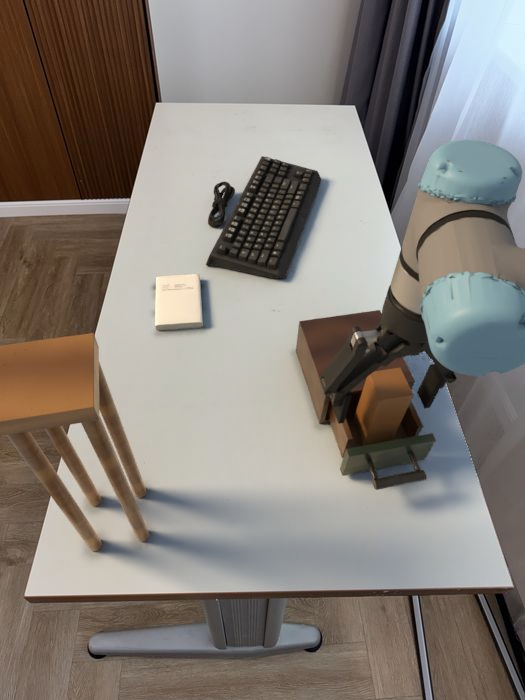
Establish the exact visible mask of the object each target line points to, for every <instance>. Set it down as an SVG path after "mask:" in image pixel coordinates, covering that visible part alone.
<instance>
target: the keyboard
mask: <svg viewBox="0 0 525 700" xmlns="http://www.w3.org/2000/svg"><path fill="white" fill-rule="evenodd" d="M321 183H322V178H321V176H320V173H319V171H318V170H316V169H312V168H307V167H305V166H300V165H297V164H293V163H289V162H285V161H281V160H280V159H277V158H272V157H269V156H263V155H262V156H260V158H259V160H258V162H257V165H256V167H255V168H254V170H253V171H252V173H251V176H250V177H249V180H248V182H247V184H246V185H245V187H244V189H243V191H242V193H241V195H240V197H239V199H238V202H237V204H236V205H235V206H234V208H233V210H232V212H231V214H230V216H229V217H228V219H227V221H226V223H225V225H224V227H223V228H222V231H221V232H220V235H219V236H218V237H217V240H216V241H215V244H214V246H213V248H212V250H211V252H210V253H209V256H208V257H207V260H206V263H205V266H207V267H209V266H214V267H219V268H224V269H228V270H233V271H238V272H241V273H246V274H252V275H256V276H260V277H265V278H269V279H276V280H277V279H280V278H281V279H286V278H287V276H288V274H289V270H290V267H291V264H292V262H293V258H294V256H295V253H296V251H297V248H298V245H299V243H300V240H301V237H302V235H303V231H304V228H305V226H306V223H307V220H308V218H309V215H310V212H311V209H312V207H313V204H314V202H315V200H316V197H317V194H318V191H319V188H320V186H321ZM222 186H224V188H222V189H221V191H220V189H219V188H221V187H222ZM235 193H236V189H235V187H233V186H232V185H231V184H230V182H228V181H221V182H219V183H216V184H215V185H214V187H213V195H214V197H213V202H212V204H211V207H212V208H211V210H210V213H209V214H208V219H207V224H208V225H209V227H211V228H217V227H220V226H221V225H223V223H224V222H225V220H226V212H227V211H226V208H227V207H228V203H229V201H230V200H231V199H232V198H233V196H234V195H235ZM218 213H219V215H217V214H218ZM216 215H217V216H216Z"/></svg>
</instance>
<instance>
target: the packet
mask: <svg viewBox="0 0 525 700" xmlns="http://www.w3.org/2000/svg"><path fill="white" fill-rule="evenodd" d="M413 397H414V393H413V391H412V389H410V387H409V384H408V382H407V380H406V378H405V376H404V374H403V372H402V370H401V368H394V369H387V370H381V371H375V372H373V373H371V374H370V375H369V376H368V377H367V378H366V381H365V385H364V388H363V391H362V394H361V397H360V400H359V403H358V407H357V410H356V413H355V416H354V419H353V422H354V424H355V427H356V430H357V432H358V435H359V438H360V440H361V443H362V446H365V445H370V444H375V443H381V442H386V441H392V440H393V438H394V436H395V434H396V432H397V430H398V427H399V425H400V423H401V421H402V419H403V417H404V415H405V412H406V410H407V408H408V406H409V404H410V402H411V401H412V399H413Z"/></svg>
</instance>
